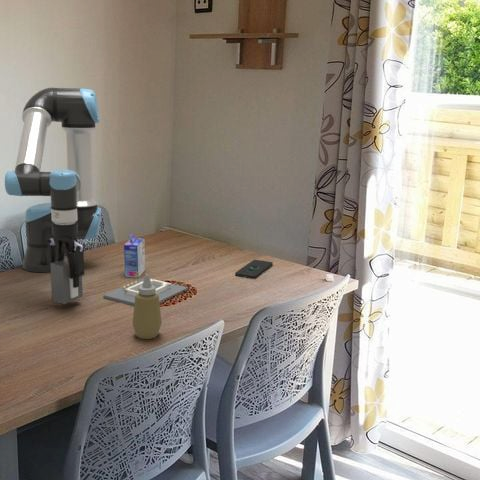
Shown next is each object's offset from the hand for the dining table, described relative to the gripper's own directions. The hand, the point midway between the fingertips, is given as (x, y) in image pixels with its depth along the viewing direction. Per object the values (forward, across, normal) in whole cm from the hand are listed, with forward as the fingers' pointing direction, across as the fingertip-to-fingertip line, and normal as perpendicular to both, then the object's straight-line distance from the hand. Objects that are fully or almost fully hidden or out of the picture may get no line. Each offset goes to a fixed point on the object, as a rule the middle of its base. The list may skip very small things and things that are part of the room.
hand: (67, 294), depth 198 cm
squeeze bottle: (+4, +34, -4) cm, 35 cm away
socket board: (+4, +13, +23) cm, 27 cm away
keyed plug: (+1, 0, 0) cm, 1 cm away
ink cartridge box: (+4, -4, +38) cm, 38 cm away
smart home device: (+5, +30, +67) cm, 74 cm away
